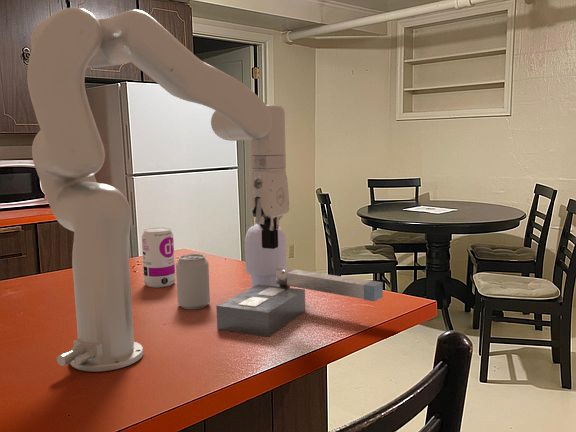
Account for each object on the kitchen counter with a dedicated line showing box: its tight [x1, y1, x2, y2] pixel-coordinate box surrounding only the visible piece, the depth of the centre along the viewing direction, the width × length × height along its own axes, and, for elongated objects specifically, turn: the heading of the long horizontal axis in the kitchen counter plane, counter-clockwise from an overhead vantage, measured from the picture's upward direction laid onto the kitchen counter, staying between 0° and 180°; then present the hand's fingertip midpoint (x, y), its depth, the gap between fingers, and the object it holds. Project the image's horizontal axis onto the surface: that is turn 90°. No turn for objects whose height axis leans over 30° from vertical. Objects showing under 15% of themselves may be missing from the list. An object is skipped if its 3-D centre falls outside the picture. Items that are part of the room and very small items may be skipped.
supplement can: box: [141, 227, 176, 289], centre depth 152 cm, size 8×8×15 cm
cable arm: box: [276, 267, 384, 302], centre depth 124 cm, size 26×4×3 cm, turn 54°
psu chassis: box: [215, 284, 306, 338], centre depth 123 cm, size 22×12×5 cm, turn 155°
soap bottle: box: [244, 215, 287, 288], centre depth 141 cm, size 10×10×24 cm
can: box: [175, 253, 211, 310], centre depth 132 cm, size 8×8×12 cm
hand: (270, 247), depth 123 cm, fingers closed
